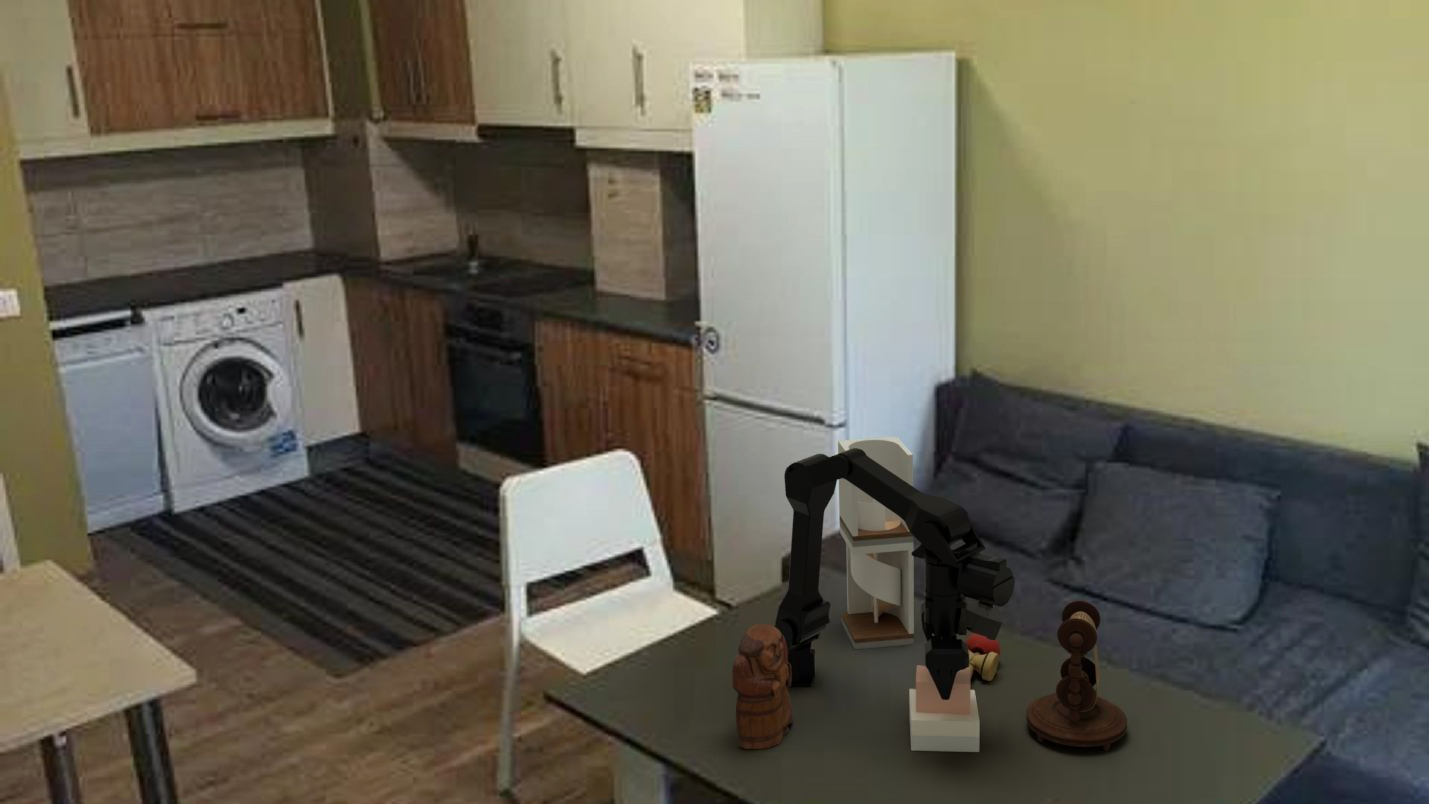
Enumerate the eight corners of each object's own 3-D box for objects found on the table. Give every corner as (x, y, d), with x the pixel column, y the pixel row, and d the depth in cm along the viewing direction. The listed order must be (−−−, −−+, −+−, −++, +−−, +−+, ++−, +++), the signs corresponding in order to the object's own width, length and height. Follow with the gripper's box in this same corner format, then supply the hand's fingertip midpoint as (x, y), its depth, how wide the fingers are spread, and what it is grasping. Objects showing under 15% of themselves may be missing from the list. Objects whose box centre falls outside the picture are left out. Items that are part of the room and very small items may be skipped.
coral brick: (916, 712, 193) (915, 681, 192) (916, 694, 199) (916, 665, 197) (970, 714, 192) (970, 684, 191) (969, 697, 197) (970, 667, 196)
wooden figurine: (770, 756, 192) (766, 646, 188) (731, 748, 195) (726, 639, 191) (800, 720, 203) (797, 614, 198) (763, 713, 205) (759, 608, 201)
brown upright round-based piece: (1123, 762, 187) (1129, 635, 182) (1020, 748, 192) (1022, 624, 187) (1129, 714, 200) (1134, 595, 195) (1032, 702, 205) (1034, 585, 200)
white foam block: (911, 750, 192) (911, 720, 191) (909, 717, 202) (909, 688, 201) (979, 752, 191) (979, 721, 190) (974, 719, 201) (974, 689, 199)
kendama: (980, 716, 204) (1013, 656, 219) (972, 682, 203) (1006, 623, 217) (935, 714, 209) (970, 655, 223) (926, 680, 207) (963, 623, 221)
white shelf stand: (841, 622, 237) (837, 440, 229) (897, 618, 238) (896, 436, 230) (854, 649, 226) (851, 459, 218) (913, 644, 227) (913, 454, 219)
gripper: (1005, 615, 180) (1004, 716, 184) (993, 565, 198) (992, 658, 202) (925, 614, 182) (925, 714, 186) (920, 565, 200) (921, 657, 204)
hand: (943, 684), depth 194 cm, fingers open, 9 cm apart
